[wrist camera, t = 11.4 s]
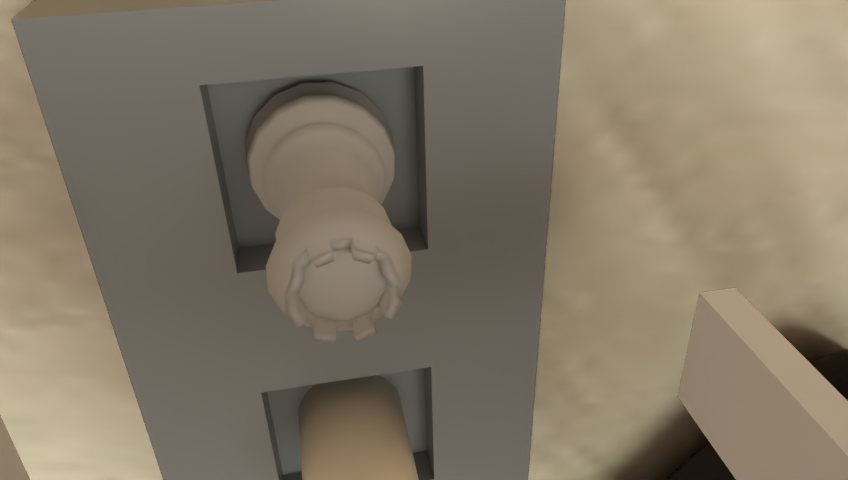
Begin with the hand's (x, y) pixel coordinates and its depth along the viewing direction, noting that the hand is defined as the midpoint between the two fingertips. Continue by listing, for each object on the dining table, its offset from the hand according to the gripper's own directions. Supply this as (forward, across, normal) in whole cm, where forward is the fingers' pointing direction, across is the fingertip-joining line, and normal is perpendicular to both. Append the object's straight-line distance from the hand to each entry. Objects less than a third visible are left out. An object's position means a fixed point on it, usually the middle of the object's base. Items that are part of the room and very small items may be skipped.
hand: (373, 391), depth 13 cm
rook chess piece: (+10, 0, -1) cm, 10 cm away
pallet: (+11, 0, +5) cm, 12 cm away
